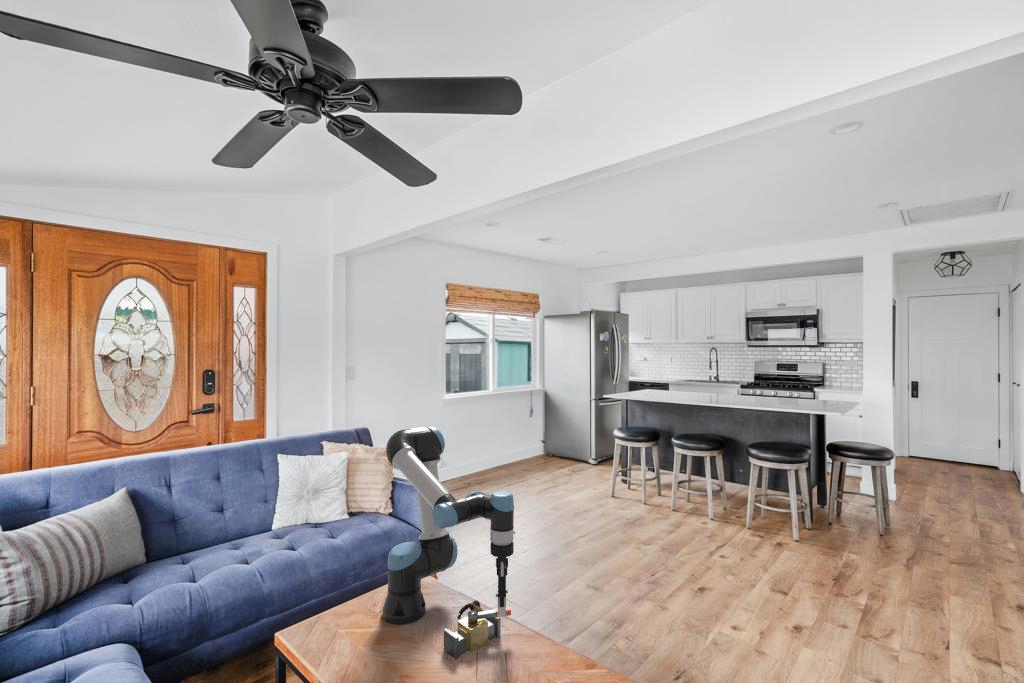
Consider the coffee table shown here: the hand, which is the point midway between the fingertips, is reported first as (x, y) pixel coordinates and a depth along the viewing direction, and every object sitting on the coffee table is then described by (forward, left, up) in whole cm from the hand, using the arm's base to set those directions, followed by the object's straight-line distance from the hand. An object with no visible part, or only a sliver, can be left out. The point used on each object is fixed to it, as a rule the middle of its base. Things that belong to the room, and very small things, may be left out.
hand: (501, 615), depth 160 cm
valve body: (-6, -7, -9) cm, 13 cm away
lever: (-3, -2, -1) cm, 4 cm away
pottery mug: (-14, -1, -9) cm, 17 cm away
